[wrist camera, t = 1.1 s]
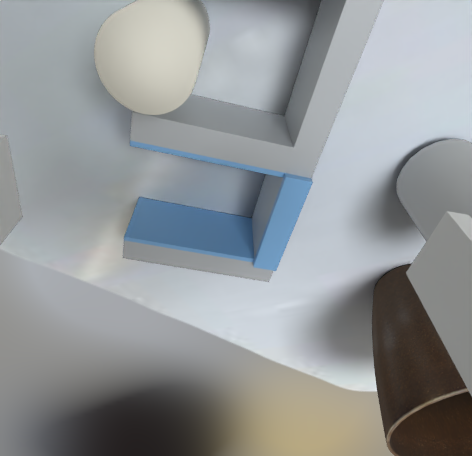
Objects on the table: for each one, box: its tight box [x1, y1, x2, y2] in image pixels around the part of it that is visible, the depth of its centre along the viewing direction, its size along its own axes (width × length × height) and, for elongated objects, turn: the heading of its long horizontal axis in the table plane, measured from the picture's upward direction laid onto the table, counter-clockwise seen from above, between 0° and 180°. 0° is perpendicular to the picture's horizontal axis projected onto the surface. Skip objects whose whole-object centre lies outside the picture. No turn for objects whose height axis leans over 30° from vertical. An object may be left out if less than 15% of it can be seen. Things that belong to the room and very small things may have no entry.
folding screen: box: [123, 0, 384, 282], centre depth 27 cm, size 24×13×7 cm, turn 167°
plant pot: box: [372, 264, 472, 456], centre depth 36 cm, size 15×15×16 cm
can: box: [396, 139, 472, 242], centre depth 29 cm, size 8×8×12 cm
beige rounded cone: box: [94, 0, 210, 115], centre depth 22 cm, size 5×5×11 cm
